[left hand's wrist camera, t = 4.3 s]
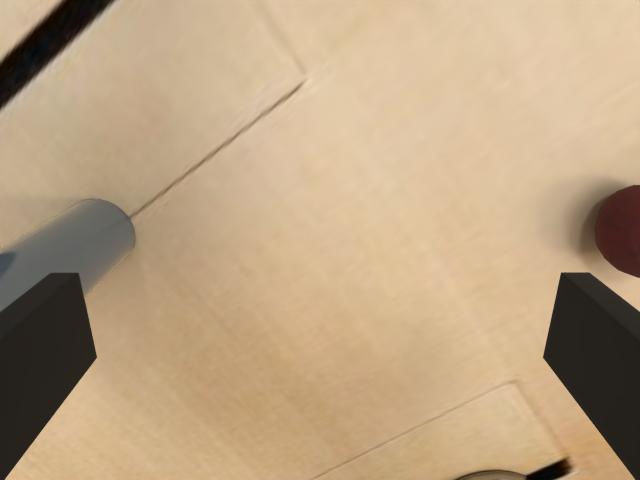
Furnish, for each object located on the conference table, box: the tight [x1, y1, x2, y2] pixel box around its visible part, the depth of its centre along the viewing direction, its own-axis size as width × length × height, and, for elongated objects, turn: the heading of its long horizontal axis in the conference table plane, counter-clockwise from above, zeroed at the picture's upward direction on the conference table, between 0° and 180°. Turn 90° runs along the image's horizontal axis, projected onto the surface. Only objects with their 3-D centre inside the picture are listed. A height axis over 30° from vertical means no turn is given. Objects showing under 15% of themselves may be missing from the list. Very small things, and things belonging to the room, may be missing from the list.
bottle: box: [0, 199, 135, 312], centre depth 30 cm, size 6×6×25 cm
